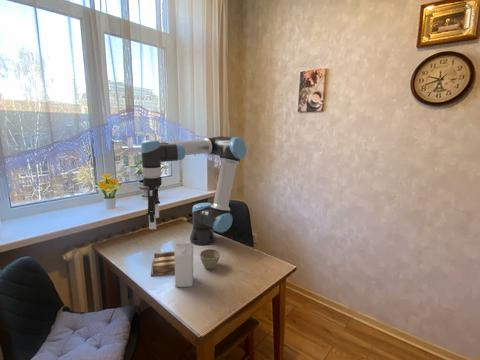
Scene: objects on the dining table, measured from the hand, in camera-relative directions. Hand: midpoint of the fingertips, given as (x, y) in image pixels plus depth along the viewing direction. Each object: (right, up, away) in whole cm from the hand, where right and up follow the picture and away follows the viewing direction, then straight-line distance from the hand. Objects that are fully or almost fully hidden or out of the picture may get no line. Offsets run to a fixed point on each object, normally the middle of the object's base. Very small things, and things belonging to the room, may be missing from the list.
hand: (154, 222), depth 111 cm
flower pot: (+23, -24, +13) cm, 36 cm away
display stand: (+3, -24, +12) cm, 27 cm away
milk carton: (+14, -27, 0) cm, 30 cm away
